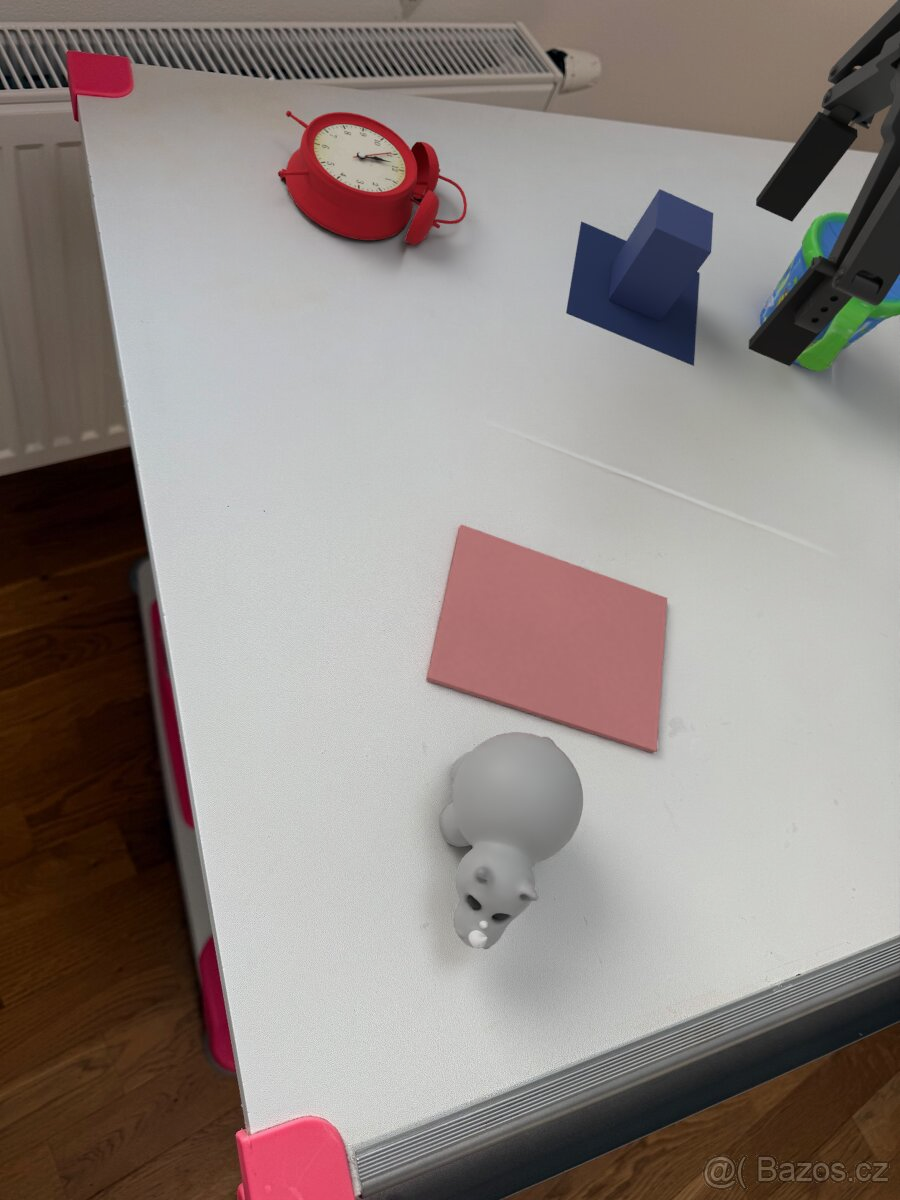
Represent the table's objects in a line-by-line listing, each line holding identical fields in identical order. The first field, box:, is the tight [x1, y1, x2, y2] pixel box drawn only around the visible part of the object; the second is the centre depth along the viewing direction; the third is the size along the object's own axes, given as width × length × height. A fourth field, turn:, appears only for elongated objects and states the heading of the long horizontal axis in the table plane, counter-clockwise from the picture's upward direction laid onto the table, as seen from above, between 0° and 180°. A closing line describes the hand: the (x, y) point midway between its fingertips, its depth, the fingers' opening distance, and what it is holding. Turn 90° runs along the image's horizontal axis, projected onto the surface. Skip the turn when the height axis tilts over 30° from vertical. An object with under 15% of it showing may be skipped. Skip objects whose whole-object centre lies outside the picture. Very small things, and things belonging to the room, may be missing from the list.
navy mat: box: [565, 221, 700, 367], centre depth 84 cm, size 12×12×1 cm
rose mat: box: [426, 524, 668, 754], centre depth 65 cm, size 16×12×1 cm
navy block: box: [608, 188, 714, 321], centre depth 81 cm, size 5×5×8 cm
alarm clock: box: [277, 110, 468, 246], centre depth 77 cm, size 10×6×15 cm
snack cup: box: [759, 211, 900, 372], centre depth 85 cm, size 16×10×10 cm
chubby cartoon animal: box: [438, 731, 584, 950], centre depth 53 cm, size 7×12×8 cm, turn 161°
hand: (771, 278), depth 60 cm, fingers open, 13 cm apart
